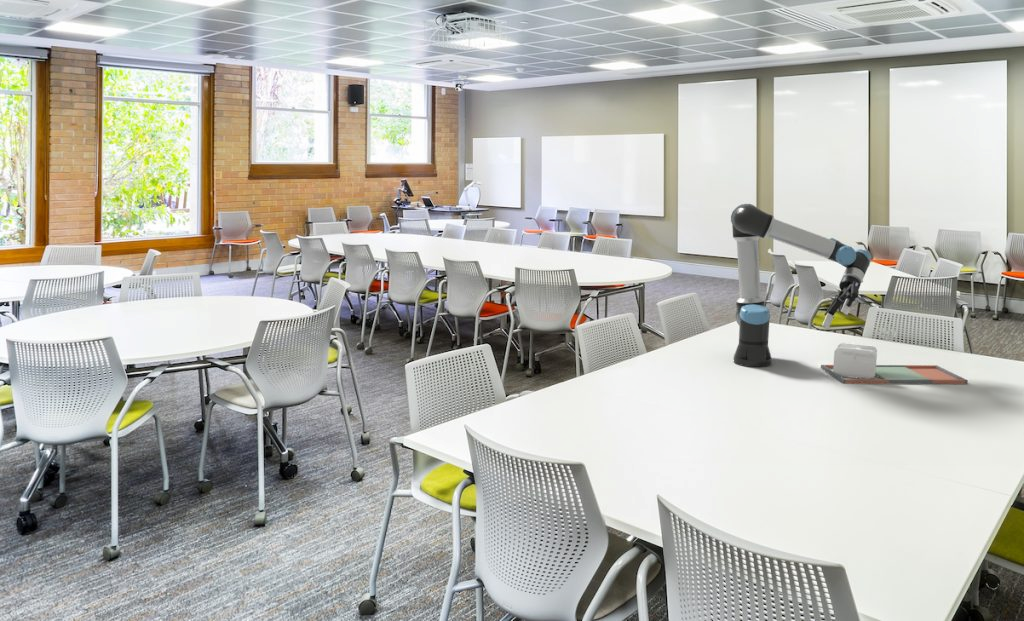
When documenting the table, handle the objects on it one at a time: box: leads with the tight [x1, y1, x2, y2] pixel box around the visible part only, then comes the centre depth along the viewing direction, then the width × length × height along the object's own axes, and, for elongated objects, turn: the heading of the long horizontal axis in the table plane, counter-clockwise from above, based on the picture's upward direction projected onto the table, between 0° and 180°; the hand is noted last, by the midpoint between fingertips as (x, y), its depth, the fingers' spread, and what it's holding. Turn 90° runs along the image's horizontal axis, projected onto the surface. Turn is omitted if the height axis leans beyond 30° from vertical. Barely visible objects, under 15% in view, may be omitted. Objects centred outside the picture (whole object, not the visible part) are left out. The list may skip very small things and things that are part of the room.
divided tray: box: [820, 364, 969, 385], centre depth 306 cm, size 46×23×1 cm, turn 89°
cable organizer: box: [832, 342, 878, 379], centre depth 306 cm, size 15×11×12 cm
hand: (834, 320), depth 311 cm, fingers open, 13 cm apart
